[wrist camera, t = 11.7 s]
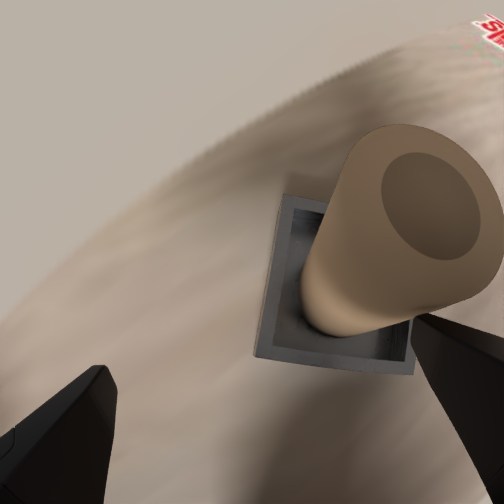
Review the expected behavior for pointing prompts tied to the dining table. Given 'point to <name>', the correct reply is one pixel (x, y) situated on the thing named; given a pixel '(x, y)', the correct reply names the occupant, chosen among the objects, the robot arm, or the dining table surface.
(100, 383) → the robot arm
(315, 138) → the dining table surface
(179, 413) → the dining table surface
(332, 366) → the tray
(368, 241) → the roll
